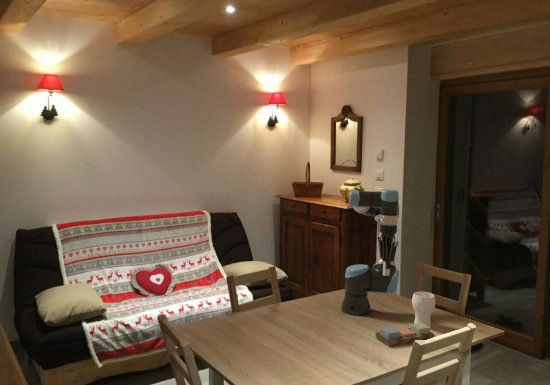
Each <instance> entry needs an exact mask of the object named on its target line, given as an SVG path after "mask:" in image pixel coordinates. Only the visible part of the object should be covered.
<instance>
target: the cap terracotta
mask: <svg viewBox="0 0 550 385" xmlns="http://www.w3.org/2000/svg"><path fill="white" fill-rule="evenodd" d="M408 328H409V327H405V328H397V329H396V328H395V329H396V330H398V331H400V336H402V337H409V336H415V332H413V331H411V330H410V329H408Z"/></svg>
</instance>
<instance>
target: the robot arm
mask: <svg viewBox="0 0 550 385" xmlns="http://www.w3.org/2000/svg"><path fill="white" fill-rule="evenodd" d="M348 194H349V195H348V205H349V206H350V207H352V208H353V210H354V211H355V212H356V213H358V214H361V215H364V216H368V217H374V220H375V221H376V223H377V224H376V227H377V228H376V254H375V255H376V256H375V257H376V260H375V263H374V264H373V266H372V268H370V267H369V265H368V264H352V265H349V266H348V267H346V269H345V275H344V277H345V278H344V279H345V281H344V282H345V283H344V296H343V299H342V301H341V303H340V311H342V312H343V313H344V314H345V313H346V314H348V315H351V316H352V315H353V316H364V315H368V314H370V313H371V303H370V300H369V297H368V296H369V295H368V294H369V293H370V292H371V293H381V294H395V293H396V292H397V288H398V283H399V277H400V271H399V270H398V269H397V266H396V265H395V264H394V261H395V258H396V257H395V256H396V254H397V253H396V252H397V249H398V245H399V241H396V236H395V235H396V234H397V233H398V232H397V231H398V218H399V217H400V202H399V199H400V196H399V191H398V190H396V189H382V190H381V191H371V190H370V191H368V190H367V191H364V190H351V191H349V192H348ZM368 292H369V293H368Z"/></svg>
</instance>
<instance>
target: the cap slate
mask: <svg viewBox="0 0 550 385" xmlns="http://www.w3.org/2000/svg"><path fill="white" fill-rule="evenodd" d="M379 332H380V335H381V336H383V337H384V338H386V339H387V340H390V339H396V338H400V331H398V330H396V328H394V327H393V326H389V327H381V328H380V329H379Z"/></svg>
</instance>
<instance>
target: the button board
mask: <svg viewBox="0 0 550 385" xmlns="http://www.w3.org/2000/svg"><path fill="white" fill-rule="evenodd" d="M407 328H408V329H410V327H407ZM435 335H436V334H435V333H433V332H431V331H430V333H429V334H423V335H418V334H416V333H415V336H409V337H402V336H400V338H396V339H390V340H387V339H386V338H384V337H383V336H381V335H380V331H377V332H375V339H376V340H378V341H379V342H381V343H382V344H383V345H385V346H386V347H388V348H391V347H397V346H403V345H410V344H414V343H413V342H414V341H415V340H427V339H430V338H433V337H436V336H435Z"/></svg>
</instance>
